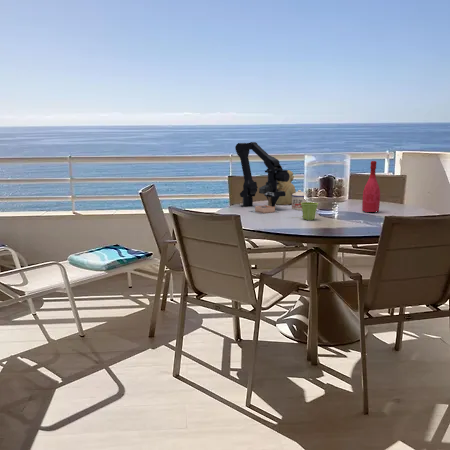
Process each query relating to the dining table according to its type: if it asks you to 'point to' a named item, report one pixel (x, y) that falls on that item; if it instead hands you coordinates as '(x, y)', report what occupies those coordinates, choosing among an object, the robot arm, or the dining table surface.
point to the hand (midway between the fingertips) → (271, 206)
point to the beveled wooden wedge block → (270, 201)
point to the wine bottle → (371, 192)
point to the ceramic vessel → (286, 190)
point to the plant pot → (309, 210)
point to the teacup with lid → (297, 200)
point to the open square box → (265, 209)
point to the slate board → (261, 213)
